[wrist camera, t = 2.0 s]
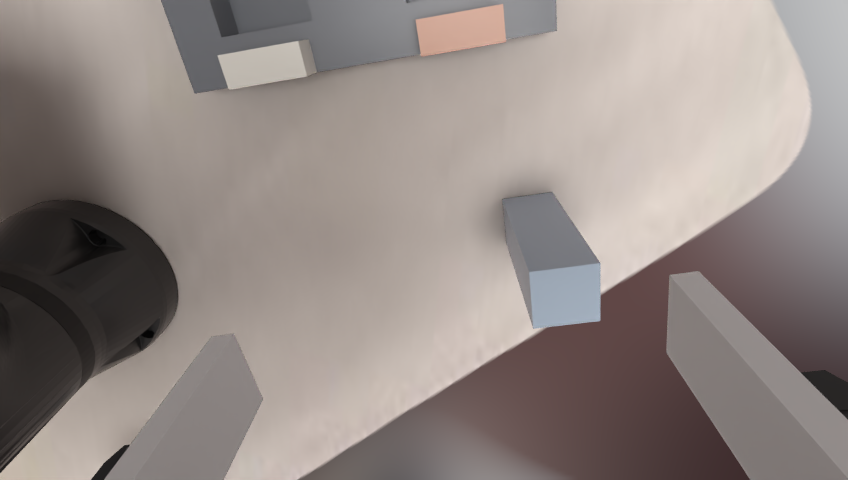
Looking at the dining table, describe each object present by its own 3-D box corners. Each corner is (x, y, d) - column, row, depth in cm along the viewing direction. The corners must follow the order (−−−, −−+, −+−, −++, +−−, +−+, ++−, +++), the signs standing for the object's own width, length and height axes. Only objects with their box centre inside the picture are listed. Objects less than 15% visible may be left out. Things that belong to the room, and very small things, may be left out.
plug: (506, 243, 39) (533, 328, 28) (502, 199, 37) (529, 272, 26) (554, 236, 38) (600, 321, 28) (552, 192, 37) (600, 263, 26)
